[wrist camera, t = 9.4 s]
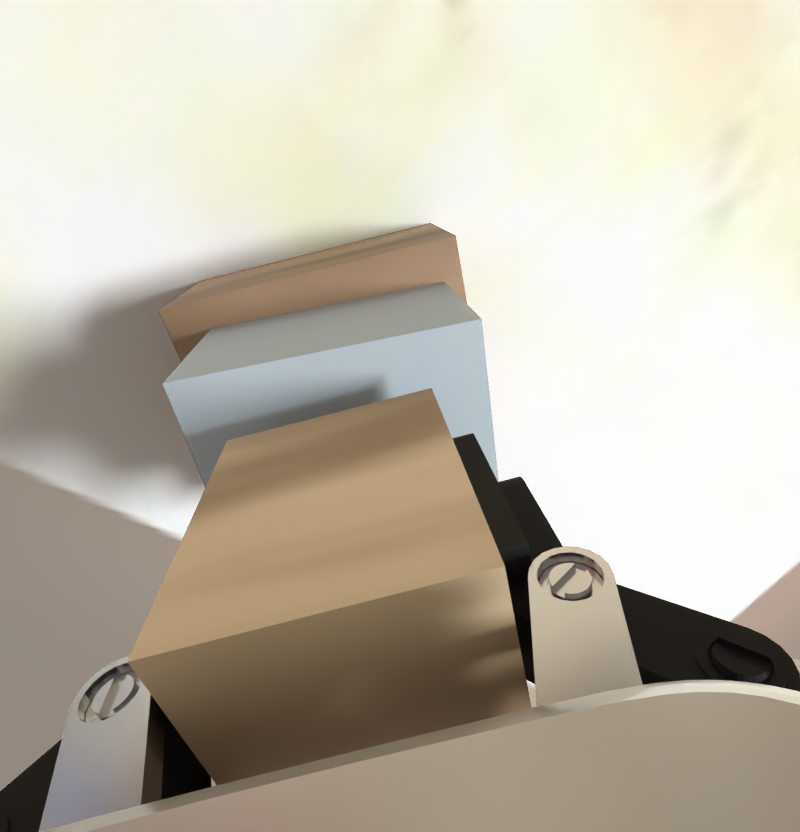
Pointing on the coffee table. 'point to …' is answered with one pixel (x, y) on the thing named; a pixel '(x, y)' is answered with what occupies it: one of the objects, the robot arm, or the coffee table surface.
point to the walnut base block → (316, 282)
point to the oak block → (332, 596)
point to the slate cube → (334, 368)
